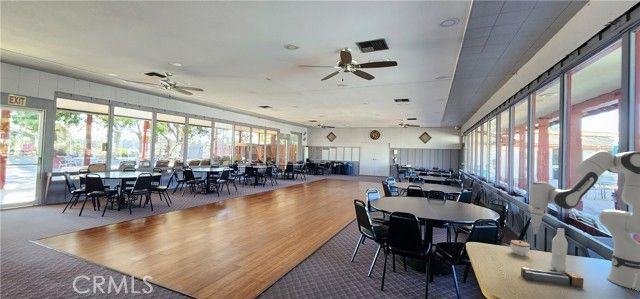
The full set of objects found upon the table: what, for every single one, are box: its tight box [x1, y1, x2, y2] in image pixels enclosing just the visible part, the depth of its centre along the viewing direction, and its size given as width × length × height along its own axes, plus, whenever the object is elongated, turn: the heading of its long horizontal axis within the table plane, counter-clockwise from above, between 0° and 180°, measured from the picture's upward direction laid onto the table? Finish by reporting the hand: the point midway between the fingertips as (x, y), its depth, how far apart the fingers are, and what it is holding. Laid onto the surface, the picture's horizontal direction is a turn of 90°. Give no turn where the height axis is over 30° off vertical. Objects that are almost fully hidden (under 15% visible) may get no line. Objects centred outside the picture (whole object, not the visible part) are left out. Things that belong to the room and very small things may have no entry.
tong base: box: [523, 270, 585, 289], centre depth 154 cm, size 26×7×5 cm, turn 78°
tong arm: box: [520, 266, 567, 278], centre depth 157 cm, size 21×3×4 cm, turn 77°
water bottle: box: [550, 227, 569, 273], centre depth 168 cm, size 7×7×25 cm
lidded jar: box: [510, 239, 531, 257], centre depth 192 cm, size 11×11×9 cm
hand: (535, 232), depth 168 cm, fingers open, 8 cm apart
